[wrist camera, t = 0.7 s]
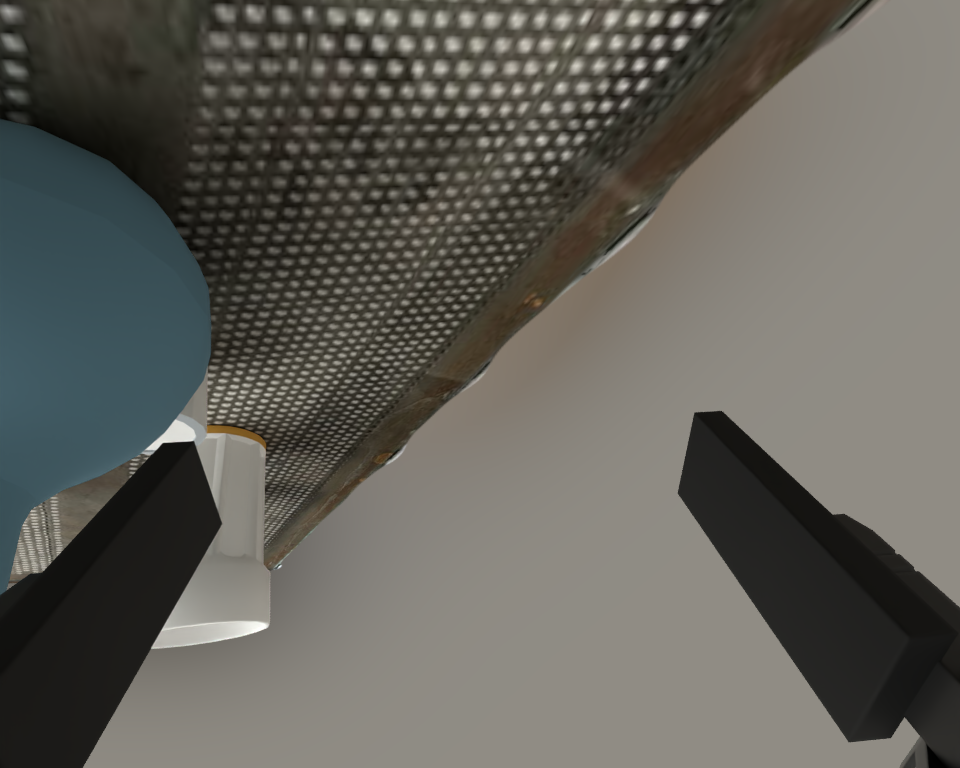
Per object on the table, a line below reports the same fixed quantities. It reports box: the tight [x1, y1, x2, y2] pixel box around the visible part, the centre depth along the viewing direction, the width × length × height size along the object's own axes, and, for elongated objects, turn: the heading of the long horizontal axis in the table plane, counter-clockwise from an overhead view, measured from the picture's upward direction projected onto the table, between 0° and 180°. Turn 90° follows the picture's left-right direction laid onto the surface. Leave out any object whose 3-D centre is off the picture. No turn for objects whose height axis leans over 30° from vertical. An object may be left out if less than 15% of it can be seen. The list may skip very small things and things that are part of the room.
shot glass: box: [141, 367, 208, 454], centre depth 33 cm, size 7×7×7 cm
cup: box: [151, 425, 270, 649], centre depth 44 cm, size 11×11×17 cm
